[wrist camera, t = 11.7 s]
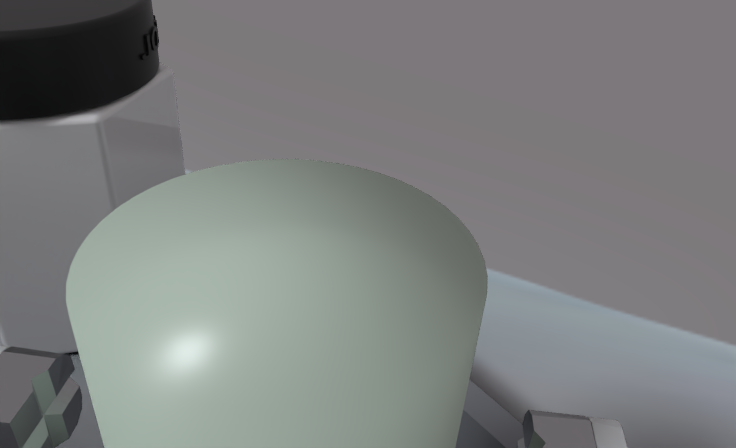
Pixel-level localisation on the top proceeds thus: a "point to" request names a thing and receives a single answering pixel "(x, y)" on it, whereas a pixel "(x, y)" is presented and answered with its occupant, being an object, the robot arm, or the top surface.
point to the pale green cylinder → (278, 311)
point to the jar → (73, 145)
